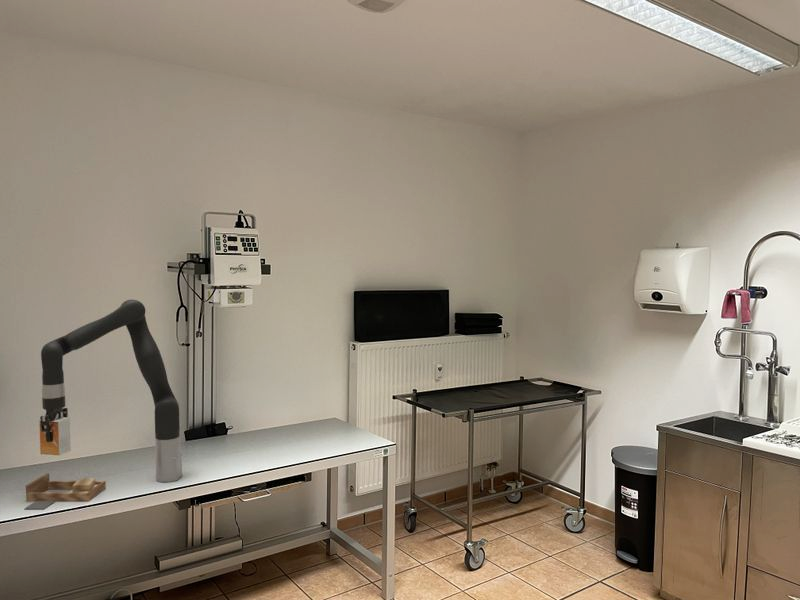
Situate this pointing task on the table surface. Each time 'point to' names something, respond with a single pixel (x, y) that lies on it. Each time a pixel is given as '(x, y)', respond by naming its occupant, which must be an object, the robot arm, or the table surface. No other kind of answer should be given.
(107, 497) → the table surface
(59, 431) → the small box
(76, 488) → the offcut top
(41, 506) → the mat
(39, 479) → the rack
